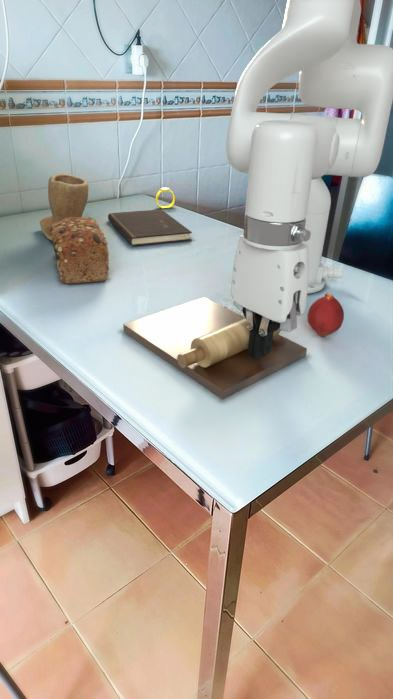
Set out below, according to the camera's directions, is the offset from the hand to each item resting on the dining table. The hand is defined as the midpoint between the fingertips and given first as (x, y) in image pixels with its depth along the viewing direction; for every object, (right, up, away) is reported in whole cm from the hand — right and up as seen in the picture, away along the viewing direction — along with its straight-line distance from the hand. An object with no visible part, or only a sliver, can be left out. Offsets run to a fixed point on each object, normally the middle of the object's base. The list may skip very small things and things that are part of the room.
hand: (259, 354), depth 69 cm
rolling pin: (-3, +1, +4) cm, 5 cm away
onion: (+12, +3, +12) cm, 17 cm away
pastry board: (-7, +2, +8) cm, 10 cm away
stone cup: (-42, +30, +53) cm, 74 cm away
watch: (-19, +45, +81) cm, 94 cm away
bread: (-34, +18, +34) cm, 52 cm away
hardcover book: (-22, +33, +59) cm, 71 cm away
